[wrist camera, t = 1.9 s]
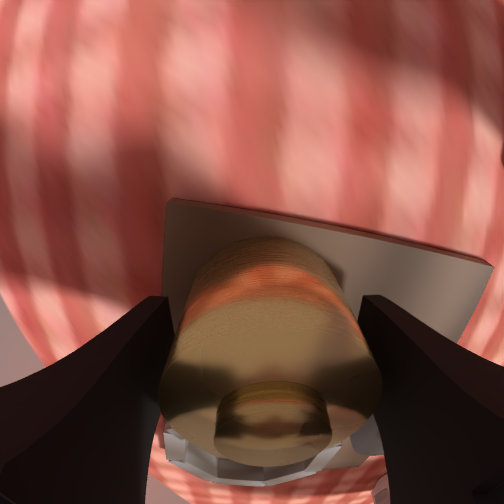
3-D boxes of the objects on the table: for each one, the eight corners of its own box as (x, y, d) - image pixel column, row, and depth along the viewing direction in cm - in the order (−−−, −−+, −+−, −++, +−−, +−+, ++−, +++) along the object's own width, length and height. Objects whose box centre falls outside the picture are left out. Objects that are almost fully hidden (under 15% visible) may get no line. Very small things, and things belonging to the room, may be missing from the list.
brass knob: (357, 250, 9) (438, 364, 4) (313, 365, 11) (338, 481, 6) (197, 223, 9) (139, 336, 4) (186, 349, 11) (157, 470, 6)
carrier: (486, 261, 10) (536, 302, 6) (356, 460, 16) (366, 500, 13) (172, 197, 9) (128, 238, 6) (169, 450, 15) (160, 496, 12)
